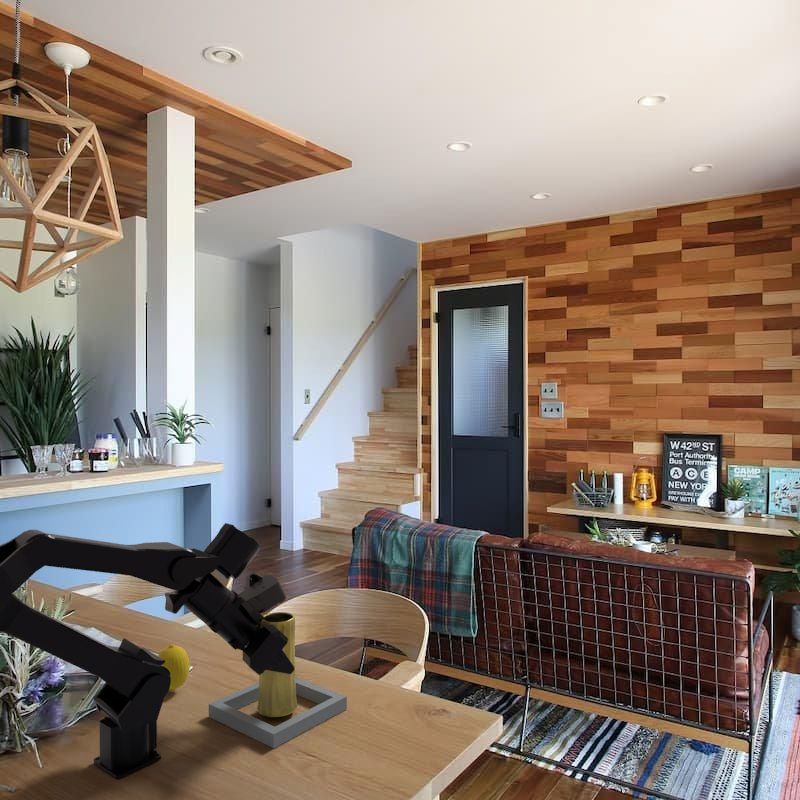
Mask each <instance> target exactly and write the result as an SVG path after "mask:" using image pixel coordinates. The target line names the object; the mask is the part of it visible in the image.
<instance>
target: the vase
mask: <svg viewBox="0 0 800 800" xmlns="http://www.w3.org/2000/svg"><path fill="white" fill-rule="evenodd" d="M262 616H264V617H265V618H264V619H263V620H262V621H261V622H260V627H261V628H262V627H263V626H265V625H270V624H272V625H273V626H275V627H276V628H277V629H278V630H279V631H280V632H282V633H283V634H284V635H285V636H286V637H287V638H288V642H287V644H286V645H285V647H284V648H283V649H282V650H283V651H284V653H285V654H286V656H287V657H288V659H289V660H290V662H291V663H292V664H293V666H294V667H295V666H296V661H295V660H296V658H295V657H296V656H295V655H296V654H295V653H296V617H295V615H294V614H293V613H291V612H286V611H277V612H269V613H266V614H264V615H262ZM295 668H296V667H295ZM258 676H259V677H258V682H259V695H258V700H257V708H256V710H257V712H258V713H259V715H261V716H264V717H268V718H280V717H286V716H288V715H291V714H292V713H294V712H295V711H296V710H297V708H298V701H297V700H298V699H297V695H296V681H295V677H296V669H295V670H294V671H293V672H292V674H286V673H280V672H275V671H269V670H265V671H264V673H262V674H260V675H258Z"/></svg>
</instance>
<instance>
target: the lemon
mask: <svg viewBox="0 0 800 800" xmlns="http://www.w3.org/2000/svg"><path fill="white" fill-rule="evenodd" d="M157 656H158V657H160V658H162V659H163V660H165V663H164V664H162V665H163V666H164V667H165V668H167V669H168V670H169V672H170V673H171V675H170V677H171V683H170V688H169V690H168V692H170V693H174V692H176V690H177V689H179V688H181V687H182V686H183V685H184V684H185V683H186V681H187V679H188V677H189V674H190V667H191V666H190V665H191V664H190V659H189V656H188V653H187V651H186V650H185V649H184V648H183V647H181V646H179V645H175V644H174V643H171V644H169V645H168V646H166V647H164V648H163V649H162V650H161V651H160V652H159V653H158V655H157Z"/></svg>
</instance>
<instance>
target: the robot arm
mask: <svg viewBox="0 0 800 800" xmlns="http://www.w3.org/2000/svg"><path fill="white" fill-rule="evenodd" d="M260 550H261V546H260V545H259V543H258V542H257V541H256V540H255V539H254V538H253V537H250V536H249V535H247V534H246V533H245V532H244V531H241V530H240V529H238V528H237V527H236V526H235V525H234V524H232V523H227V522H226V523H224V524H223V525H222V526H221V528H220V529H219V531H218V533H217V534H216V535H215V537H214V538H213V539H212V540H211V542H210V543H209V544H208V545H207V546H206V548H205V549H204V550H200V549H198V548H197V549H196V548H185V547H183V546H181V545H177V544H175V543H171V542H168V541H158V542H157V541H155V542H143V543H137V544H123V543H116V542H109V541H108V542H107V541H102V540H97V539H88V538H81V537H75V536H67V535H60V534H54V533H46V532H43V531H42V530H39V529H28V530H25V531H22V532H21V533H20V534H19V535H17V536H15V537H14V538H12V539H10V540H9V541H7V542H5V543H3V544H0V633H1V634H7V635H10V636H12V637H13V638H15V639H18V640H20V641H22V642H24V643H26V644H28V645H30V646H33V647H34V648H37V649H39V650H41V651H43V652H45V653H47V654H49V655H51V656H53V657H56V658H58V659H60V660H62V661H64V662H67V663H68V664H71V665H73V666H75V667H77V668H79V669H81V670H83V671H86V672H87V673H90V674H92V675H94V676H96V677H98V678H99V679H100V680H102V681H103V682H104V684H103V685H102V687H100V689H99V691H97V693H96V694H95V696H94V697H93V702H94V706H95V707H96V710H97V712H99V713H101V714H102V715H104V718H102V719H100V720H99V721H98V723H99V727H98V728H99V738H98V739H99V756H97V757H95V758H93V764H94V765H95V766H97V767H99V768H100V769H102V770H103V771H104V772H106V773H107V774H109V775H110V776H112V777H114V778H115V779H121V778H123V777H125V776H128V775H130V774H132V773H134V772H136V771H138V770H140V769H143V768H145V767H146V766H148V765H151V764H152V763H155V762H157V761H159V760H161V758H162V753H160V752H159V751H157V749H158V719H159V715H160V712H161V709H162V706H163V703H164V700H165V697H166V696H167V695H168V693H169V688H170V683H171V677H170V675H171V673H170V672H169V670H168V669H167V668H165V667H164V666H163V665H162V664H164V663H165V660H163V659H162V658H160V657H158V655H157V654H155V653H154V652H152V651H151V650H148V649H147V648H145V647H140V646H138V645H137V644H135V643H133V641H132V642H131V641H130V640H128V639H127V638H125V637H124V638H122V640H121V642H120V645H119V646H111V645H107V644H105V643H103V642H101V641H99V640H97V639H96V638H94V637H92V636H89V635H88V634H86V633H84V632H82V631H80V630H78V629H76V628H74V627H72V626H70V625H68V624H67V623H64V622H62V621H60V620H58V619H56V618H54V617H53V616H51V615H49V614H47V613H45V612H42V611H41V610H39V609H37V608H35V607H33V606H31V605H29V604H27V603H25V602H23V601H22V600H21V599H19V597H17V596H16V595H15V594H14V593H15V592H16V591H17V590H18V589H20V588H21V587H22V585H24V584H25V583H26V582H28V580H29V579H31V577H32V576H33V575H34V574H35V573H36V572H38V571H39V570H41V569H42V568H44V567H52V568H61V569H69V570H78V571H79V570H81V571H85V572H87V571H89V572H98V573H104V574H105V573H106V574H112V575H113V574H115V575H122V576H131V577H134V578H137V579H139V580H142V581H146V582H147V583H151V584H154V585H157V586H159V587H163V588H166V589H169V590H172V591H170V592H165V593H164V597H165V602H164V603H165V604H164V605H165V606H164V611H166V612H169V613H172V614H173V615H175V614H176V615H177V614H178V613H179V611H180V610H181V609H182V608H183V606H184V608H186V609H187V610H189V612H191V613H192V614H193V615H194V616H195V617H197V618H198V619H199V620H200V621H201V622H203V623H204V624H205V625H207V627H208V628H209V630H211V631H212V632H213V633H214V634H217V635H218V636H219V637H220V638H222V639H223V640H224V641H226V642H227V643H228V645H229V646H231V647H232V649H233V650H235V651H236V650H240V651H242V661H243V662H244V663H245V664H246V665H247V666H248V668H250V669H251V670H252V671H253V672H254V673H256V675H258V676H259V675H260V674H262V673H264V671H265V670H269V671H275V672H280V673H286V674H292V672H293V671H294V670H295V671H296V667H294V666H293V664H292V663H291V662H290V660H289V659H288V657H287V656H286V654H285V653H284V651H283V650H282V649H283V648H284V647H285V645H286V644H287V642H288V638H287V637H286V636H285V635H284V634H283V633H282V632H280V631H279V630H278V629H277V628H276V627H275V626H273V625H272V624H270V625H265V626H263V627H262V628H261V627H260V622H261V621H262V620H263V619H264V618H265V617H264V616H263V615H262V613H265V612H267V611H268V610H270V609H271V608H273V607H274V606H276V605H278V604H282V603H283V602H284V601H285V600H286V599H287V595H286V593H285V590H284V589H283V587H282V585H281V583H280V580H279V579H278V578H276V577H275V576H273V575H271V574H264V575H263V576H261V575H259V574H258V573H256V571H252V572H251V573H250V574H248V575H246V577H245V587H243V590H242V591H241V592H240V593H239V594H238V593H237V592H236V591H234V590H233V589H232V590H230V589H229V588H228V587H227V586H226V585H225V584H223V582H222V581H220V580H219V579H221V580H223V581H225V582H228V581H229V580H230V578H231V579H233V580H234V581H235V580H237V579H239V577H240V576H241V575H242V574H243V572H244V571H245V569H246V568H247V567H248V566H249V564H250V563H251V562H252V560H253V559H254V558H255V557H256V555H257V554H258V552H259V551H260ZM212 573H213V574H214V575H213V574H212ZM215 575H216V576H217V577H218V578H219V579H218V578H216V577H215Z"/></svg>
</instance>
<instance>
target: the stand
mask: <svg viewBox="0 0 800 800" xmlns="http://www.w3.org/2000/svg"><path fill="white" fill-rule="evenodd" d="M295 681H296V696H298V697H300V698H303V699H306V700H308V701H310V702H312V703H315V704H317V705H315V706H313V707H311V708H309V709H307V710H306V711H305V710H304V711H303V712H301V713H299V714H297V715H295V716H293V717H291V718H289V719H288V720H285V721H284V722H281V723H279V724H278V725H276V726H274V725H271V724H270V723H267V722H265V721H263V720H260V719H258V718H256V717H254V716H252V715H249V714H247V713H245V712H243V711H241V710H239V709H241V708H243V707H245V706H247V705H249V704H252V703H254V702H257V701H258V695H259V681H258V682H256V683H254V684H250V685H249V686H247V687H245V688H242V689H239V690H238V691H235V692H233V693H230V694H228V695H226V696H223V697H221V698H219V699H217V700H214V701H212V702H210V703H208V718H210V719H212V720H215V721H216V722H219V723H221V724H223V725H224V726H227V727H229V728H231V729H232V730H236V731H237V732H239V733H242V734H243V735H245V736H247V737H249V738H251V739H254V740H255V741H258V742H260V743H261V744H263V745H265V746H268V747H270V748H272V749H276V748H277V747H279V746H281V745H283V744H284V743H286V742H288V741H291V740H293V739H294V738H296V737H297V736H300V735H301V734H303V733H305V732H308V731H309V730H311V729H313V728H314V727H317V726H318V725H320V724H322V723H323V722H326V721H328V720H330V718H333V717H335V716H337V715H339V714H340V713H342V712H344V711H346V710H347V709H348V699H347V697H348V696H346V695H345V694H341V693H338V692H336V691H334V690H331V689H328V688H326V687H323V686H320V685H318V684H315V683H313V682H311V681H308V680H305V679H302V678H299V677H297V676H295Z"/></svg>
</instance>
